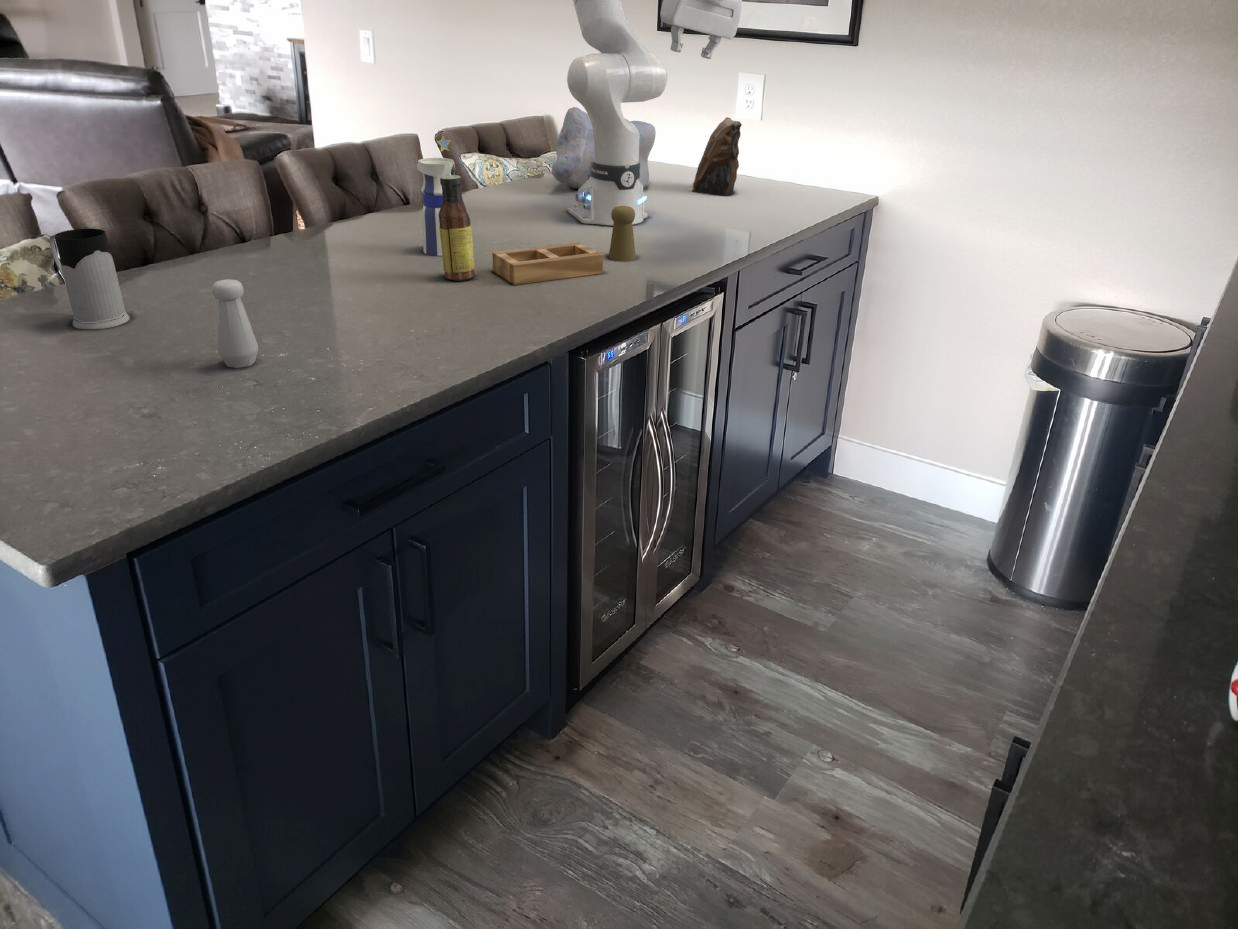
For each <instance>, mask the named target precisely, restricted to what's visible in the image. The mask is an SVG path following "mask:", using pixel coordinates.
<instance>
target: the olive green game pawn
mask: <svg viewBox="0 0 1238 929" xmlns="http://www.w3.org/2000/svg"><path fill="white" fill-rule="evenodd" d="M611 217H612V220H613V222H614V224H613V225H612V232H611V237H610V245H609V252H608V258H609V259H610V260H613V261H618V262H629V261H634V260H635V259H636V258H637V257H636V247H635V234H634V226H633V225H634V224H632V222H633V221H634V219H635V211H634V209H633V208H632V207H628V206H617V207H615V208H613V210H612V213H611Z"/></svg>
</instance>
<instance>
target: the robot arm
mask: <svg viewBox="0 0 1238 929" xmlns="http://www.w3.org/2000/svg"><path fill="white" fill-rule="evenodd" d="M572 2H573V7H574V10H575V15H576V17H577V21H578V25H579V29H580V32H581V36H582V38H583V40H584V42H586V43H587V45H589V46H590V47H592V48H593V49H595V50H597V51H598V52H599V53H590V54H586V55H583V56H579V57H576V58H574V59H573V60H572V62H571V63H570V65H569V67H568V70H567V74H566V82H567V87H568V90H569V92H570V94H571V96H572V97H573V98H574V100H576V101H577V102H578V103H579V104H580V105H581V106H582V107H583V108H584V110H585V112H586V113H587V114H588V115H589V117H590V120H591V123H592V127H593V134H594V162H593V163H590V164H592V166H590V167H591V172H590V176H591V177H590V178H589V179H588V180H587V181H586V182H585V183H584V184H583V185H582V186H581V187H580V188H579V189H578V190H577V193H576V192H575V193H576V194H575V201H576V205H572V206H569V207H568V208H567V212H568V213H569V214H570V215H572V216H573V217H574V218H575V219H577V220H578V221H579V222H580V223H582V224H587V225H589V224H591V225H602V226H613V224H614V222H613V220H612V217H611V213H612V210H613V208H615V207H617V206H628V207H632V208H633V209H634V211H635V219H634V221H633V222H632V224H633V225H638V224H640V223H643V222H644V220H645V219H646V218H648V217H649V216H648V212H646V211H645V201H646V200H647V195H644V188H643V185H642V184H641V183H640V182H639V178H640V172H641V169H640V163H639V131H638V129H637V127H636V126H635V125H634V124H633V123H632V122H630V121H631V120H629V119H627V118H625V116H624V114H623V112H622V104H624V103H625V104H626V103H627V104H628V103H644V102H646V101H651V100H655V99H657V98H659V97H661V96H662V95H663V94H664V93H665V90H666V89H667V88H666V87H667V84H668V70H667V66H666V64H665V62H664V60H663V59H662V58H661V57H660V56H658V55H656V54H655V53H653V52H652V51H650V50H649V49H648V48H647V47H646V46H645V45H644V43H643V42H641V41H640V39H639V38H638V37H637V36H636V33H635V32H634V31H633V29H632V28H631V25H630V23H629V21H628V19H627V16H626V13H625V10H624V7H623V3H622V0H572ZM742 2H743V0H663V1H662V4H661V8H660V14H659V15H660V20H661V22H663V23H665V24H668V25H670V26H671V28H670V35H671V36H670V37H671V44H670V48H669V49H670V51H672V52H675V53H681V52H682V48H683V47H684V43H682V41H681V39H682V38H681V37H682V36H681V35H683V34H684V30H685V29H686V30H691V31H695V32H699V33H702V34H703V33H704V34H706V35H709V36H708V40H709V41H708V42H707V44H706V45H705V47H702V49H701V52H700V57H701V58H703V59H707V60H711V59H712V56H713V53H714V51H715V50H716V48H717V47H718V46H719V45H720V44H721V40H722V38H723V39H728V40H732V39H734V37H735V36H736V34H737V31H738V27H739V23H740V18H741V13H742Z"/></svg>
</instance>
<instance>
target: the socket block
mask: <svg viewBox="0 0 1238 929" xmlns="http://www.w3.org/2000/svg"><path fill="white" fill-rule="evenodd" d="M491 253H492V254H491V255H492V256H491V258H492V272H493V273H495V274H496V275H497V276H500V277H501V278H503V279H504V280H506V281H507V282H509V283H511V284H512V285H514V286H517V285H525V284H532V283H533V284H534V283H540V282H547V281H555V280H563V279H570V278H578V277H585V276H586V277H587V276H593V275H594V276H595V275H600V274H603V273H604V266H603V265H604V254H603V253H601V252H599V251H597V250H595V249H593V248H591V247H589V246H587V245H585V244H583V243H581V242H570V243H569V242H568V243H560V244H552V245H551V244H550V245H543V246H534V247H525V248H515V249H507V250H500V251H499V250H497V251H492V252H491Z"/></svg>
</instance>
